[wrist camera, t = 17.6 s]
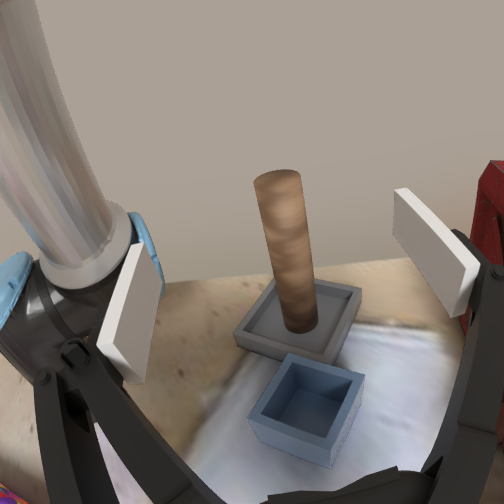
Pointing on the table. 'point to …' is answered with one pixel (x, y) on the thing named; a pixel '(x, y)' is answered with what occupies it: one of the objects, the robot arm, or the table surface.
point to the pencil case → (9, 497)
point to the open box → (308, 409)
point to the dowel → (289, 247)
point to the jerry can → (489, 238)
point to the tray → (308, 344)
